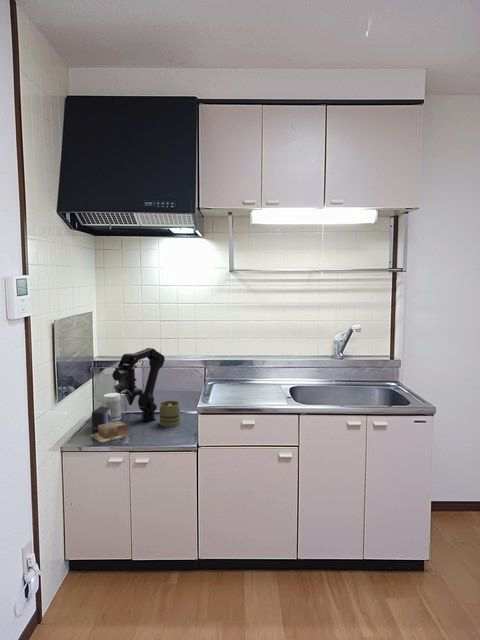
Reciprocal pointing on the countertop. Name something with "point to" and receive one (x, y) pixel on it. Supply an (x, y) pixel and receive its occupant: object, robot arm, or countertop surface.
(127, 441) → the countertop surface
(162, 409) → the piston
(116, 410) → the supplement tub
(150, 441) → the countertop surface
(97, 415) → the small box
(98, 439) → the cutting board
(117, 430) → the brown rectangular block
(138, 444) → the countertop surface
